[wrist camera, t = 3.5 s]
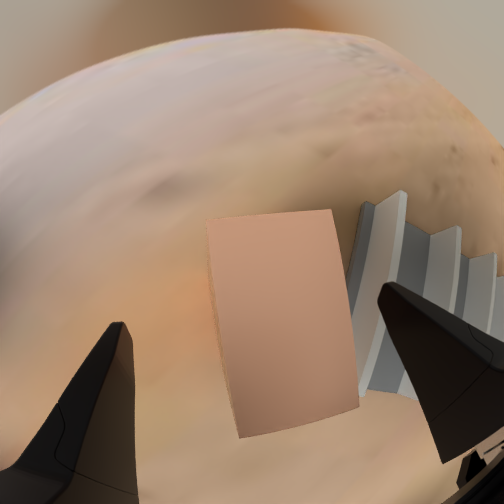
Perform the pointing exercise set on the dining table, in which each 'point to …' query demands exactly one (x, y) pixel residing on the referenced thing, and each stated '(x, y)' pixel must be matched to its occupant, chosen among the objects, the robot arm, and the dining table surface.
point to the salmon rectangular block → (281, 319)
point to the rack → (413, 287)
